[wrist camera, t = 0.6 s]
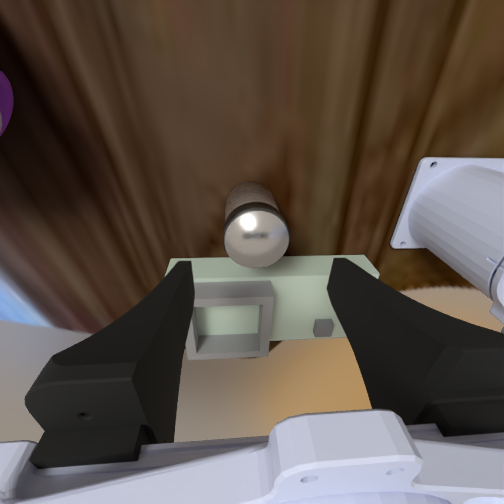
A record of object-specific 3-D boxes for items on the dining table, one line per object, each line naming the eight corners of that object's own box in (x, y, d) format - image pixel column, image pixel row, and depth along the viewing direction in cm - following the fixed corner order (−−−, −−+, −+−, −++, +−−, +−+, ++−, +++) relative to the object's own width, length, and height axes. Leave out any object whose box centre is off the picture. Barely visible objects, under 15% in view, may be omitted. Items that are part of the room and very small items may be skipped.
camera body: (364, 254, 25) (392, 289, 20) (345, 315, 29) (365, 353, 25) (170, 258, 23) (158, 296, 19) (181, 321, 27) (172, 363, 23)
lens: (277, 180, 20) (294, 210, 15) (273, 228, 22) (286, 268, 17) (223, 179, 20) (221, 210, 15) (225, 228, 22) (223, 270, 17)
